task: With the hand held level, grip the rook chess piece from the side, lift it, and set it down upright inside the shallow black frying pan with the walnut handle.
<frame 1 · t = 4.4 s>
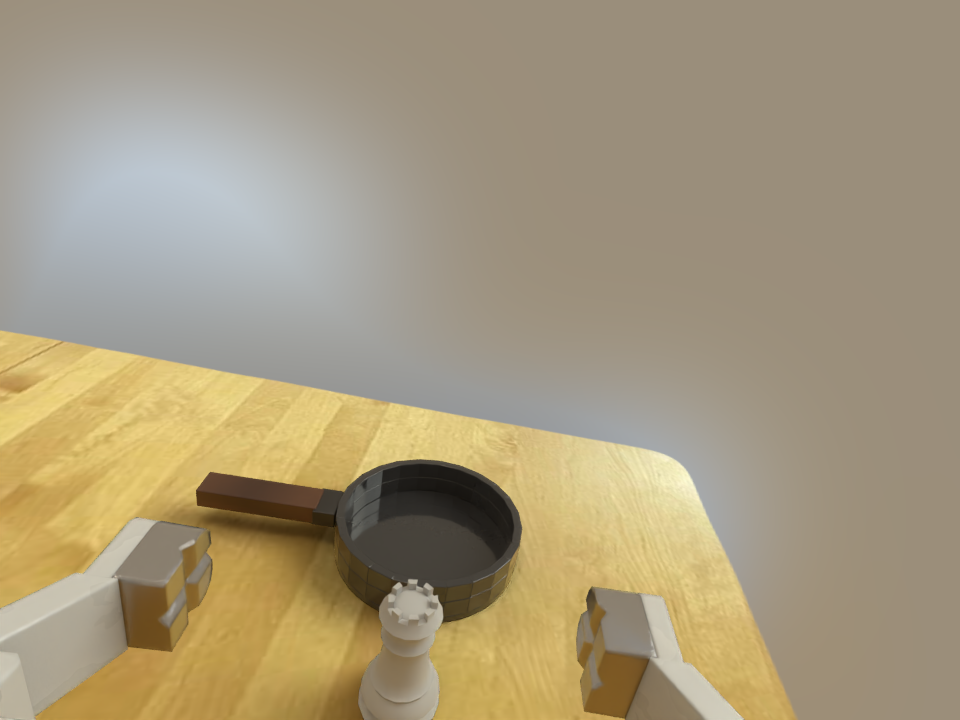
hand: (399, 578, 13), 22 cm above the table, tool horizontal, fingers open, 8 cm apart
pan handle: (271, 498, 42), point 2 cm above the table
rook chess piece: (397, 703, 33), on the table
pan: (425, 548, 44), on the table
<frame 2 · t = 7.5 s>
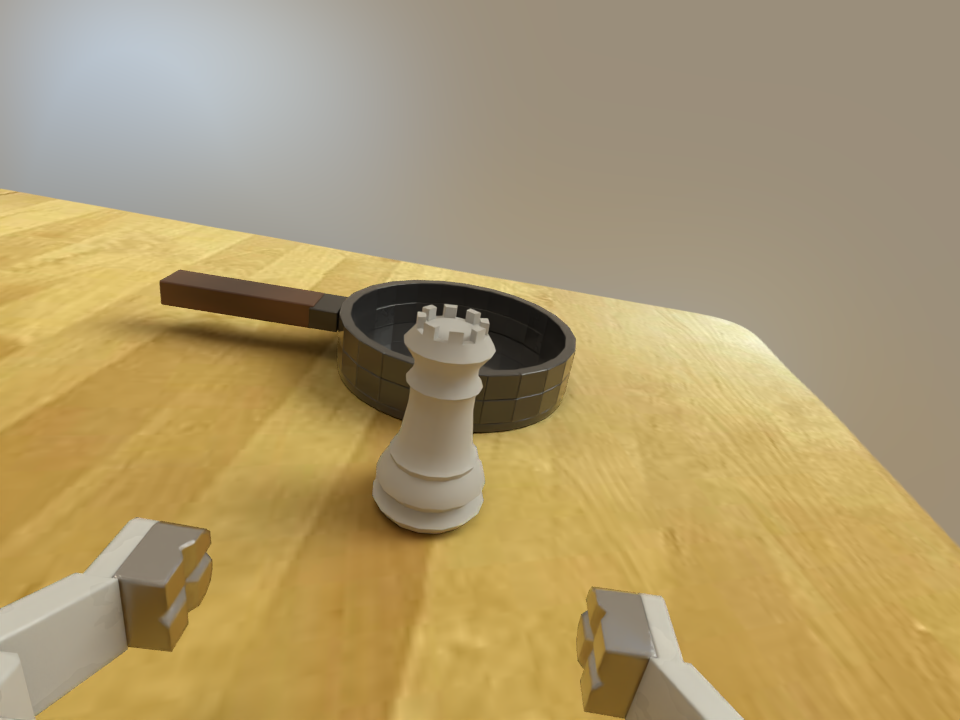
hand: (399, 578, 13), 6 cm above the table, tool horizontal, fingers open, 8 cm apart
pan handle: (256, 300, 33), point 2 cm above the table
rook chess piece: (426, 504, 24), on the table
pan: (452, 370, 35), on the table
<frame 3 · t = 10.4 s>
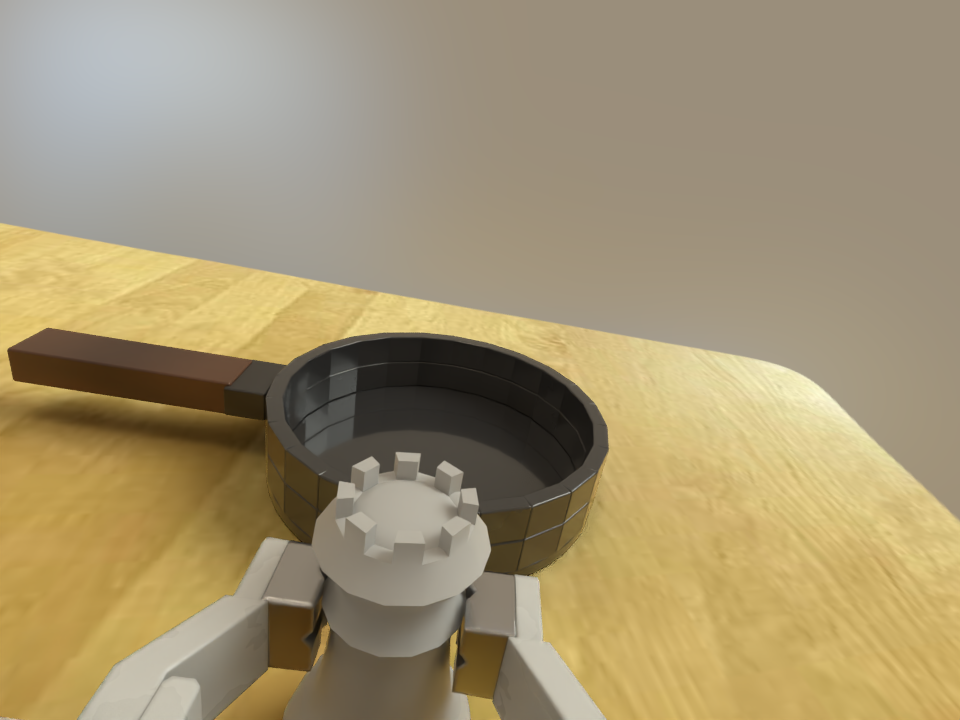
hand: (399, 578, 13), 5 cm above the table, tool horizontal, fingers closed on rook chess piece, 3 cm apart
pan handle: (154, 372, 23), point 2 cm above the table
pan: (433, 466, 25), on the table
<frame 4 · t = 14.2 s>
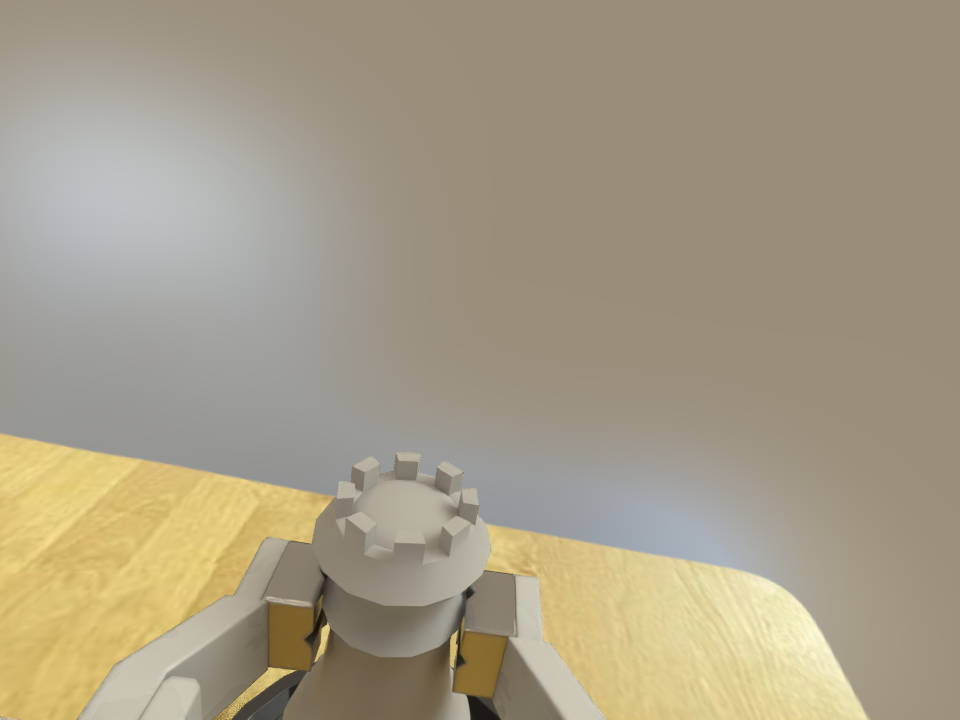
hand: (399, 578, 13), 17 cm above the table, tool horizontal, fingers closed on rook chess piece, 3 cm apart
when the fingers open (5 cm above the table, at t = 17.9 s): rook chess piece stays where it is, resting on pan.
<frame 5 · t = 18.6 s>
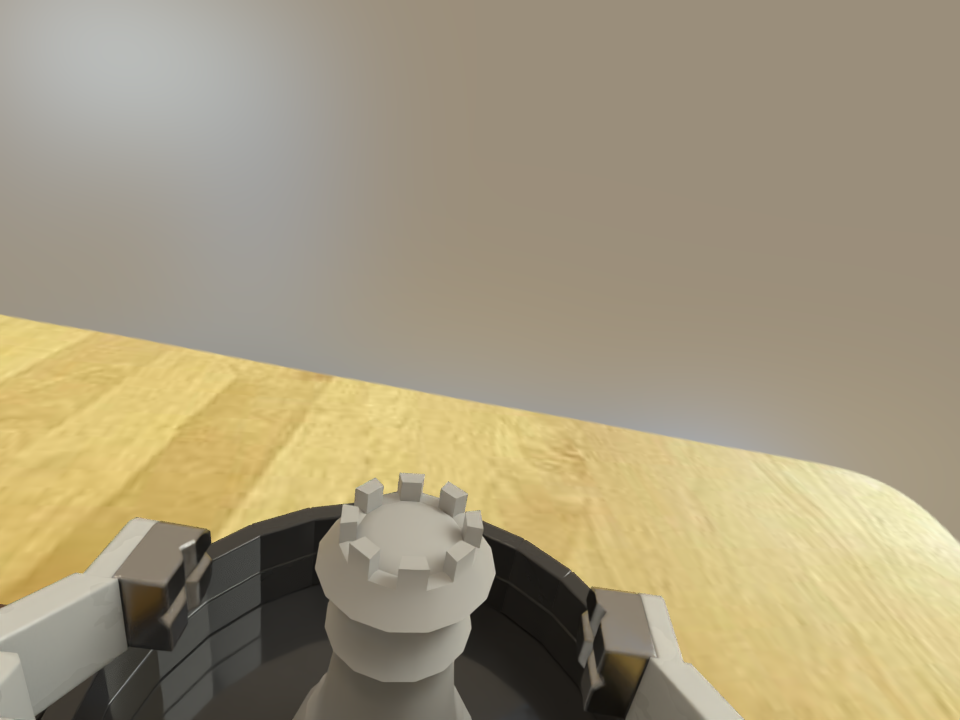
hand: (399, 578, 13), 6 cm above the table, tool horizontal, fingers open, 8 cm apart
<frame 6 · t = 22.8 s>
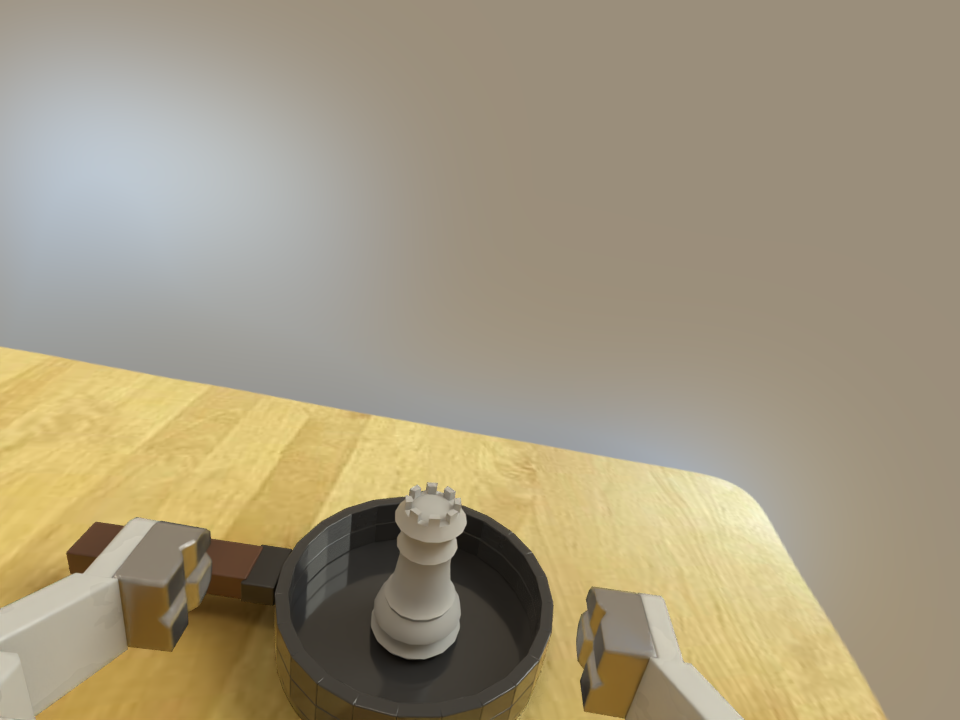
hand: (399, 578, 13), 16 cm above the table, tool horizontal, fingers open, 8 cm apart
pan handle: (183, 561, 29), point 2 cm above the table
rook chess piece: (414, 629, 30), resting on pan
pan: (412, 630, 30), on the table
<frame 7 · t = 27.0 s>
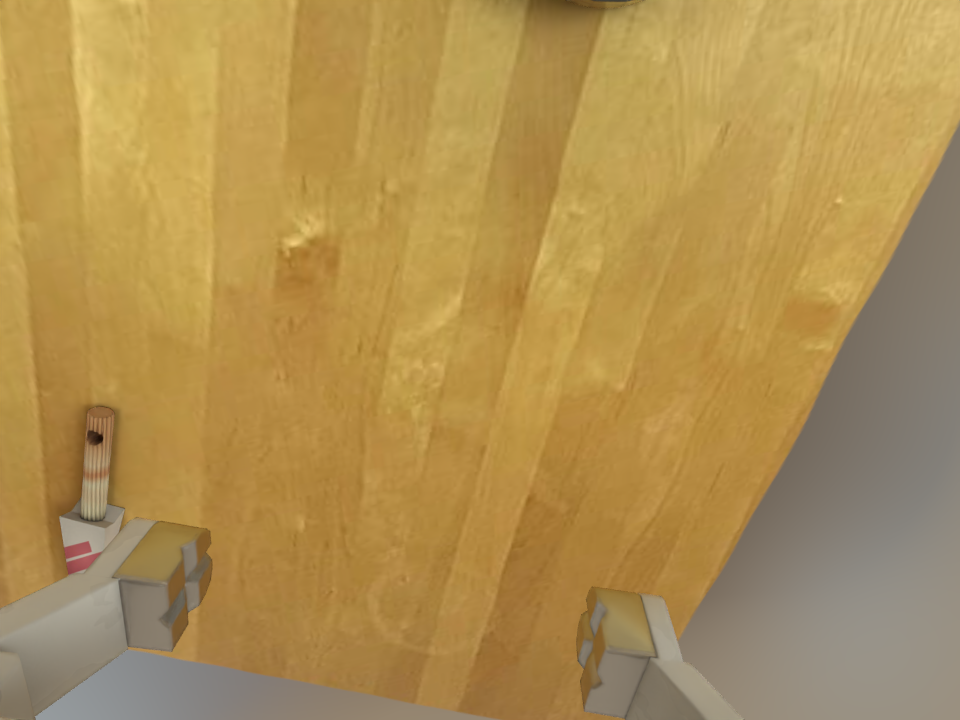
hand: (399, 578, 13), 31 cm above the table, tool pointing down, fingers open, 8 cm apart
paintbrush: (104, 498, 52), on the table
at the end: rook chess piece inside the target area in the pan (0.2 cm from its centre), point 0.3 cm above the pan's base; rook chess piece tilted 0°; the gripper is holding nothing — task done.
